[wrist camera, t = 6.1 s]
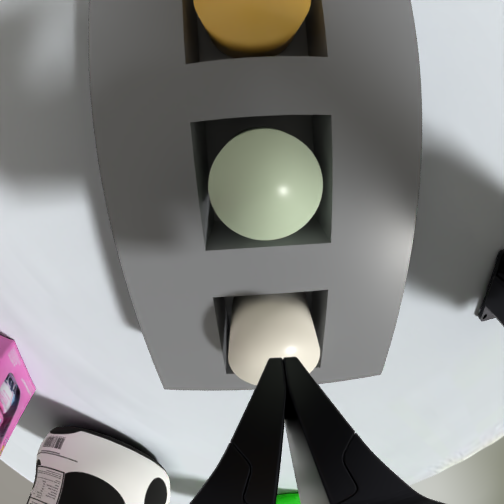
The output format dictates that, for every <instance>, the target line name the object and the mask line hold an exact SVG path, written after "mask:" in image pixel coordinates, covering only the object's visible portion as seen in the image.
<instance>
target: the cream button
mask: <svg viewBox="0 0 504 504" xmlns="http://www.w3.org/2000/svg"><path fill="white" fill-rule="evenodd" d="M278 357H281V358H282V359H283V358H284V357H297V358H298V359H299V361H300V362H301V363H302V364H303V366H304V367H305V368H306V370H307V371H308V372H309V373H310V372H311V371H312V370H313V369H314V368H315V367H316V365H317V363H318V361H319V358H320V347H319V343H318V340H317V336H316V332H315V328H314V325H313V321H312V317H311V314H310V310H309V306H308V303H307V299H306V296H305V294H304V292H293V293H279V294H264V295H247V296H234V299H233V302H232V313H231V325H230V338H229V351H228V362H229V365H230V367H231V369H232V371H233V372H234V373H235V374H236V375H237V376H238V377H239V378H240V379H242V380H244V381H246V382H248V383H250V384H253V385H257V384H258V382H259V379H260V377H261V375H262V373H263V370H264V368H265V366H266V364H267V361H268V359H269V358H278Z"/></svg>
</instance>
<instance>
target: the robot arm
mask: <svg viewBox="0 0 504 504" xmlns="http://www.w3.org/2000/svg"><path fill="white" fill-rule="evenodd" d="M478 317H479V319H480V320H481V321H486V320H489V319H493V318H497V320H498V321H499V322H500V323H501V324H502V325H503V326H504V250H501V251H500V252H499V254H498V257H497V261H496V264H495V268H494V271H493V275H492V278H491V281H490V284H489V288H488V291H487V294H486V296H485V299H484V302H483V305H482V308H481V310H480V313H479V316H478ZM284 421H285V427H286V433H287V438H288V443H289V448H290V453H291V458H292V463H293V468H294V473H295V478H296V483H297V488H298V493H299V498H300V503H301V504H445V503H442V502H438V501H435V500H432V499H429V498H426V497H424V496H422V495H420V494H419V493H417V492H416V491H414V490H413V489H412V488H411V487H410V486H409V485H407V484H406V483H405V482H404V481H403V480H402V479H401V478H399V477H398V476H397V475H396V474H395V473H394V472H393V471H392V470H390V469H389V468H388V467H387V466H386V465H385V464H384V463H383V462H382V461H381V460H380V459H379V458H378V457H377V456H376V455H375V454H374V453H373V452H372V451H371V450H370V449H369V448H368V446H367V445H366V444H365V443H364V442H363V441H362V439H361V438H360V437H359V436H358V434H357V433H355V431H354V430H353V428H352V427H351V426H350V425H349V423H348V422H347V421H346V420H345V418H344V417H343V416H342V415H341V413H340V412H339V411H338V409H337V408H336V407H335V406H334V404H333V403H332V402H331V401H330V399H329V398H328V397H327V395H326V394H325V393H324V392H323V390H322V389H321V388H320V386H319V385H318V384H317V383H316V381H315V380H314V379H313V377H312V376H311V375H310V374H309V372H308V371H307V370H306V368H305V367H304V366H303V364H302V363H301V362H300V361H299V359H298V358H297V357H284V358H283V359H282V358H281V357H278V358H269V359H268V361H267V364H266V366H265V368H264V370H263V373H262V375H261V377H260V379H259V382H258V384H257V386H256V388H255V390H254V393H253V395H252V397H251V399H250V401H249V403H248V406H247V408H246V410H245V412H244V414H243V416H242V418H241V420H240V422H239V425H238V427H237V429H236V431H235V433H234V435H233V437H232V439H231V441H230V442H231V443H229V445H228V447H227V449H226V451H225V453H224V454H223V456H222V458H221V460H220V462H219V463H218V465H217V467H216V468H215V470H214V471H213V473H212V474H211V476H210V477H209V479H208V480H207V482H206V483H205V484H204V486H203V487H202V488H201V489H200V491H199V492H198V493H197V495H196V496H195V497H194V499H193V500H192V501H191V502H190V504H276V499H277V490H278V482H279V473H280V463H281V454H282V443H283V433H284ZM354 433H355V434H354Z"/></svg>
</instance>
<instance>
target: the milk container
mask: <svg viewBox="0 0 504 504" xmlns="http://www.w3.org/2000/svg"><path fill="white" fill-rule="evenodd" d="M169 501H170V480H169V477H168V475H167V473H166V471H165V469H164V468H163V467H162V466H161V465H160V464H159V463H157V462H156V461H155V460H153V459H152V458H151V457H150V456H149V455H147V454H145V453H143V452H141V451H139V450H138V449H136V448H134V447H132V446H131V445H128V444H126V443H124V442H121V441H119V440H117V439H114V438H112V437H110V436H107V435H104V434H101V433H98V432H95V431H92V430H89V429H84V428H78V427H74V426H64V427H56V428H54V429H53V430H51V431H50V432H49V433H48V434H47V436H46V437H45V438H44V440H43V442H42V443H41V445H40V448H39V450H38V454H37V461H36V475H35V481H34V485H33V488H32V491H31V494H30V496H29V499H28V502H27V504H169Z"/></svg>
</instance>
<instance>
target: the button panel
mask: <svg viewBox="0 0 504 504" xmlns="http://www.w3.org/2000/svg"><path fill="white" fill-rule="evenodd" d="M88 41H89V76H90V92H91V104H92V115H93V124H94V133H95V141H96V148H97V155H98V161H99V167H100V173H101V179H102V185H103V190H104V195H105V200H106V205H107V210H108V214H109V219H110V223H111V228H112V232H113V236H114V240H115V244H116V248H117V252H118V256H119V260H120V263H121V267H122V271H123V274H124V278H125V281H126V284H127V288H128V291H129V294H130V298H131V301H132V304H133V307H134V310H135V313H136V316H137V319H138V322H139V325H140V328H141V331H142V333H143V336H144V339H145V342H146V344H147V347H148V350H149V353H150V355H151V358H152V360H153V363H154V365H155V368H156V370H157V373H158V375H159V378H160V380H161V383H162V385H163V387H164V389H169V390H252V389H255V388H256V386H257V385H253V384H250V383H248V382H246V381H244V380H242V379H240V378H239V377H238V376H237V375H236V374H235V373H234V372H233V371H232V369H231V367H230V365H229V362H228V351H229V338H230V325H231V313H232V302H233V299H234V296H247V295H264V294H279V293H293V292H304V294H305V296H306V299H307V303H308V306H309V310H310V314H311V317H312V321H313V325H314V328H315V332H316V336H317V340H318V343H319V347H320V358H319V361H318V363H317V365H316V367H315V368H314V369H313V370H312V371H311V372H310V373H309V374H310V375H311V376H312V377H313V379H314V380H315V381H316V383H317V384H323V383H331V382H339V381H345V380H352V379H358V378H364V377H370V376H376V375H381V373H382V370H383V367H384V364H385V361H386V357H387V354H388V351H389V347H390V344H391V340H392V337H393V333H394V329H395V326H396V322H397V318H398V314H399V310H400V305H401V301H402V297H403V292H404V287H405V283H406V278H407V273H408V267H409V262H410V256H411V250H412V244H413V237H414V230H415V223H416V215H417V206H418V196H419V185H420V171H421V150H422V98H421V78H420V65H419V54H418V45H417V37H416V30H415V23H414V17H413V11H412V6H411V0H311V5H310V9H309V12H308V14H307V16H306V17H305V19H304V21H303V22H302V24H301V26H300V27H299V29H298V31H297V32H296V34H295V36H294V37H293V39H292V41H291V42H290V44H289V45H288V46H287V47H286V49H284V50H283V51H282V52H281V53H279V54H278V55H276V56H268V57H247V58H231V57H229V56H227V55H226V54H224V53H222V52H221V51H220V50H219V49H218V48H217V47H216V46H215V45H214V44H213V42H212V41H211V39H210V37H209V35H208V33H207V31H206V29H205V27H204V25H203V24H202V22H201V20H200V18H199V16H198V14H197V12H196V10H195V7H194V1H193V0H90V2H89V36H88ZM258 126H266V127H272V128H275V129H278V130H280V131H283V132H285V133H287V134H289V135H291V136H294V137H295V138H297V139H298V140H300V141H301V142H302V143H304V144H305V145H306V146H307V147H308V148H309V149H310V150H311V152H312V153H313V154H314V156H315V157H316V159H317V161H318V163H319V166H320V169H321V173H322V177H323V192H322V197H321V201H320V203H319V206H318V208H317V210H316V212H315V214H314V215H313V217H312V218H311V219H310V220H309V221H308V223H307V224H305V225H304V226H303V227H302V228H301V229H299V230H298V231H296V232H295V233H293V234H291V235H289V236H286V237H283V238H280V239H275V240H255V239H251V238H247V237H244V236H242V235H240V234H238V233H236V232H234V231H233V230H231V229H230V228H229V227H227V226H226V225H225V224H224V223H223V222H222V221H221V219H220V218H219V217H218V215H217V214H216V212H215V210H214V208H213V206H212V204H211V201H210V197H209V191H208V181H209V174H210V170H211V167H212V165H213V162H214V160H215V159H216V157H217V155H218V154H219V153H220V151H221V150H222V149H223V147H224V146H225V145H226V144H227V143H228V142H229V140H230V139H231V138H232V137H234V136H235V135H236V134H238V133H239V132H241V131H243V130H245V129H248V128H252V127H258Z"/></svg>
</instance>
